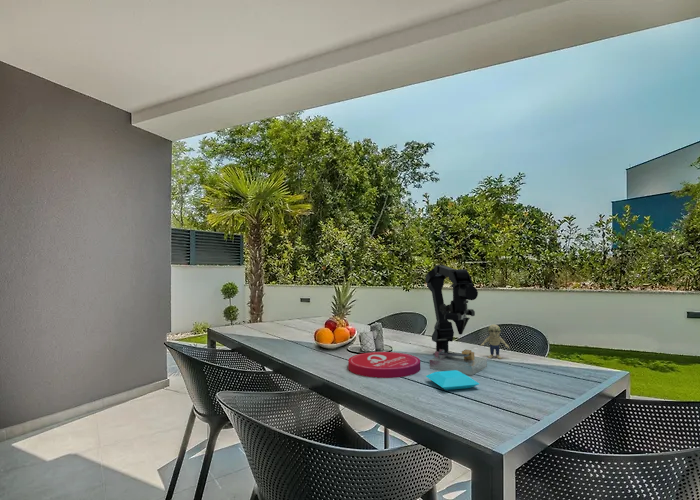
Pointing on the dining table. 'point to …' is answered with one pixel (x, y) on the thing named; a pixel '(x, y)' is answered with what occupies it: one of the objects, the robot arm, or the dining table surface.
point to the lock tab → (471, 354)
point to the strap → (453, 354)
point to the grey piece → (457, 363)
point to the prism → (452, 380)
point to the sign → (384, 364)
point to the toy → (494, 340)
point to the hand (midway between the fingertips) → (460, 334)
